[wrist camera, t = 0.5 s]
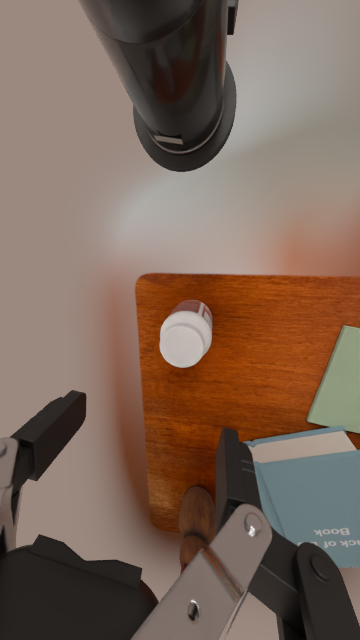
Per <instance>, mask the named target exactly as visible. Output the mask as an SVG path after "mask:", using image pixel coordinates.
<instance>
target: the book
mask: <svg viewBox="0 0 360 640" xmlns="http://www.w3.org/2000/svg"><path fill="white" fill-rule="evenodd" d="M243 443H246V444H247V446H248V447H249V449H250V451H251V452H252V456H253V462H254V467H255V474H256V478H257V484H258V489H259V495H260V500H261V506H262V510H263V513H264V515H265V516H266V517H267V519H268V521H269V523H270V525H271V526H272V527H273V528H274V530H276V531H277V532H278V533H279V534H280V535H282V536H283V537H285V538H286V539H288V540H289V541H291V542H292V543H294V544H295V545H297V546H298V547H299V545H300V544H301V543H304V542H310V543H313V544H315V545H317V546H319V547H320V548H321V549H323V550H324V551H325V552H326V553H327V554H328V555H329V556H330V557H331V558H332V560H333V561H334V562H335V564H336V566H337V567H360V450H356V448H355V447H354V445H353V444H352V443H351V441H350V440H349V438H348V437H347V434H346V430H345V428H344V427H343V425H341V426H335V427H329V428H323V429H317V430H311V431H305V432H299V433H293V434H287V435H281V436H274V437H268V438H262V439H256V440H254V441H253V442H251V441H244V442H243Z"/></svg>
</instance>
